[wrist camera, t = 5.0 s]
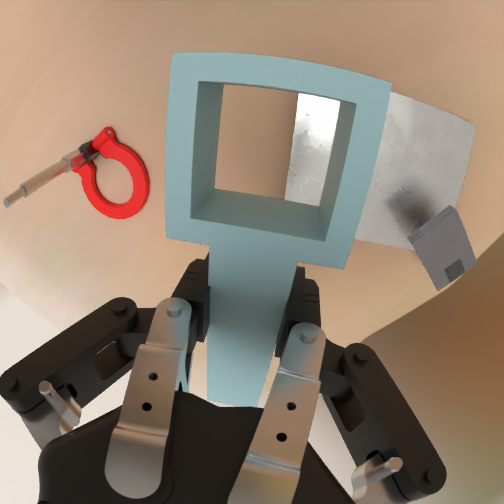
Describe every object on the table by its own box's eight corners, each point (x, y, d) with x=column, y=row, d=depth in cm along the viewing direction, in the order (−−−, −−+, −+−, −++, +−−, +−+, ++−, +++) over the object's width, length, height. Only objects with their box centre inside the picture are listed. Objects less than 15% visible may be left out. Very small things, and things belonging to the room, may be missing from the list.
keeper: (451, 231, 26) (476, 263, 20) (417, 255, 28) (437, 291, 22) (427, 184, 24) (456, 210, 18) (390, 212, 26) (411, 243, 20)
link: (203, 61, 9) (172, 52, 6) (366, 85, 8) (392, 83, 6) (195, 357, 18) (182, 393, 16) (285, 375, 18) (281, 413, 15)
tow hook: (166, 191, 29) (116, 118, 25) (96, 270, 18) (17, 162, 13) (116, 226, 32) (72, 164, 28) (51, 301, 21) (-10, 220, 17)
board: (301, 71, 20) (301, 71, 20) (472, 124, 19) (476, 126, 18) (280, 223, 28) (279, 226, 28) (433, 251, 27) (436, 254, 26)
